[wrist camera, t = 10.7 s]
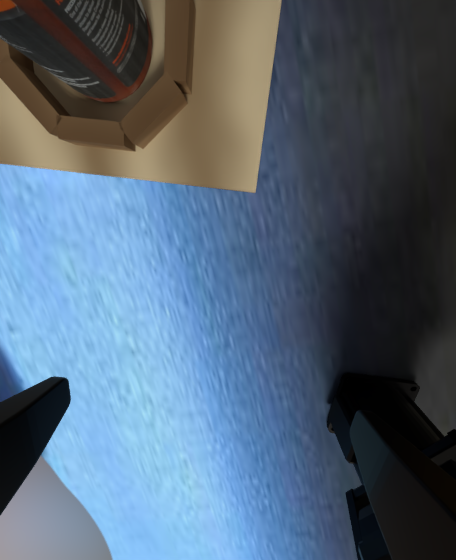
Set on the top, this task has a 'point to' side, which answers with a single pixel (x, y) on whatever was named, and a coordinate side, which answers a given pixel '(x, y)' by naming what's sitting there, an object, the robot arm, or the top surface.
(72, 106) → the holder board
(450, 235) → the top surface
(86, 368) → the top surface
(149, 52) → the supplement bottle
